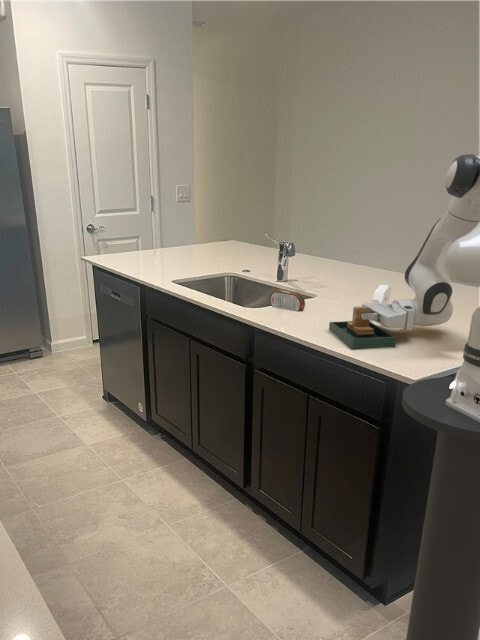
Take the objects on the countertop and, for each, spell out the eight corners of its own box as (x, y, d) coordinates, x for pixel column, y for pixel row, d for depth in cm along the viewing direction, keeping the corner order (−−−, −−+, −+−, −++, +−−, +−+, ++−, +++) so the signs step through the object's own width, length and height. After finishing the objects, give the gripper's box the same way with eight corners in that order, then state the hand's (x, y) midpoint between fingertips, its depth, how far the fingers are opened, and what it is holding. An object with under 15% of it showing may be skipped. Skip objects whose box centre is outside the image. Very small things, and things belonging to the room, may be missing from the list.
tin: (304, 314, 210) (306, 292, 207) (300, 316, 208) (301, 294, 205) (272, 308, 220) (273, 287, 217) (268, 309, 218) (268, 289, 214)
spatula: (352, 335, 188) (364, 336, 186) (353, 313, 185) (365, 314, 183) (379, 301, 217) (389, 302, 215) (381, 281, 213) (391, 282, 211)
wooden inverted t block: (373, 338, 174) (376, 310, 171) (358, 339, 173) (360, 311, 170) (361, 330, 183) (363, 303, 180) (346, 331, 183) (348, 304, 179)
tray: (395, 346, 168) (396, 337, 167) (352, 348, 167) (353, 339, 166) (367, 328, 189) (368, 320, 188) (328, 330, 187) (329, 322, 186)
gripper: (387, 297, 186) (347, 298, 184) (416, 310, 166) (372, 312, 165) (385, 315, 188) (346, 317, 187) (413, 330, 169) (370, 332, 167)
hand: (358, 315), depth 176 cm, fingers closed on wooden inverted t block, 2 cm apart
